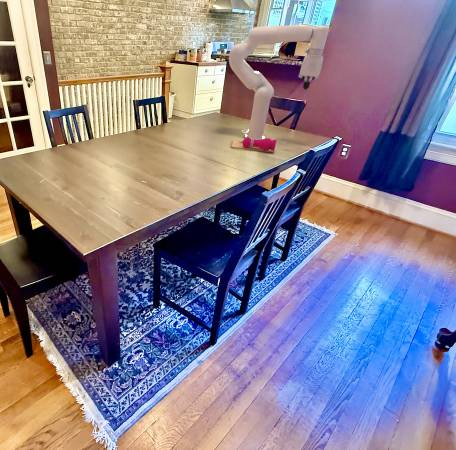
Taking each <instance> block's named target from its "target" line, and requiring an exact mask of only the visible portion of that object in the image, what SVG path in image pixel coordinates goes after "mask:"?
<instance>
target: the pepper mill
mask: <svg viewBox="0 0 456 450" xmlns="http://www.w3.org/2000/svg"><path fill="white" fill-rule="evenodd" d="M239 141H240V143H243V146H244V147H245V148H248V147H258V148H260V149H262V150H264V151H268V150H270V149H271V151H273V152H274V151H275V150H276V146H277V139H271V138H270V137H265V139H261V140H255V139H251V138H249V137H246V138H245V137H244V138H243V140H241V139H240V140H239Z"/></svg>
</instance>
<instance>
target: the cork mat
mask: <svg viewBox="0 0 456 450" xmlns="http://www.w3.org/2000/svg"><path fill="white" fill-rule="evenodd" d="M240 141H241V140H236V139H233V140H232V144H231V148H232V149H240V150H247V151H248V150H249V151H256V152H265V153H272V154H273V153H274V151H271V149H270V150H268V151H264V150H262V149H260V148H258V147H248V148H245V147H244V146H243V143H240Z"/></svg>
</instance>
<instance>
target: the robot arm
mask: <svg viewBox="0 0 456 450" xmlns="http://www.w3.org/2000/svg"><path fill="white" fill-rule="evenodd" d="M329 32H330V27H329V26H328V25H315V26H314V25H309V24H293V25H282V24H281V25H280V24H279V25H266V26H265V25H263V26H254V27H252V28H251V29H250V30H249V32H248V35H247V37H246V38H245V39H244V40H243V41H242V42H239V43H236V44H234V46H233V47H232V48H230V51H229V55H228V64H229V67H230V68H231V71H232V72H233V73H234V74H235V75H236V76H237V78H238V79H239V81H240V82H241V83H242V84H243V85H244V86H245V87H246V88H247V89H248V90H252V91H253V92H254V96H253V105H252V110H251V115H250V121H249V126H248V129H247V130H241V131H240V134H242V135H245V136H244V138H246V137H249V138H251V139H255V140H261V139H265V138H266V137H265V136H264V131H265V127H266V123H267V120H268V119H267V118H268V115H269V114H268V113H269V109H270V103H271V99H272V98H273V97H274V95H275V89H274V87H273V85H272V84H271V83H270V82H269V81H268V80H267V78H266V77H265V76H264V75H263V74H262V73H261V72H259V71H255V70H254V69H253V68H252V67H251V66H250V64H248V63H247V62H246V60H245V59H246V58H247V57H249V56H250V55H251V54H252V53H253V52H254V51H255V50H256V49H257V48H258V47H259V46H260V45H269V44H270V45H272V44H273V45H275V44H281V43H293V42H295V43H297V42H300V43H301V42H309V45H308V48H307V49H305V50H304V53H305V54H306V55H305V56H304V58H303V61H302V63H301V67H300V71H299V73H298V78H300V79H302V80H303V84H302V89H303V90H306V91H307V90H308V89H309V88H310V84H311V82H312V81H313V80H318V79H319V78H320V74H321V71H322V67H323V62H324V56H323V54H324V49H325V46H326V43H327V39H328V36H329ZM307 79H308V80H307Z"/></svg>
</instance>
